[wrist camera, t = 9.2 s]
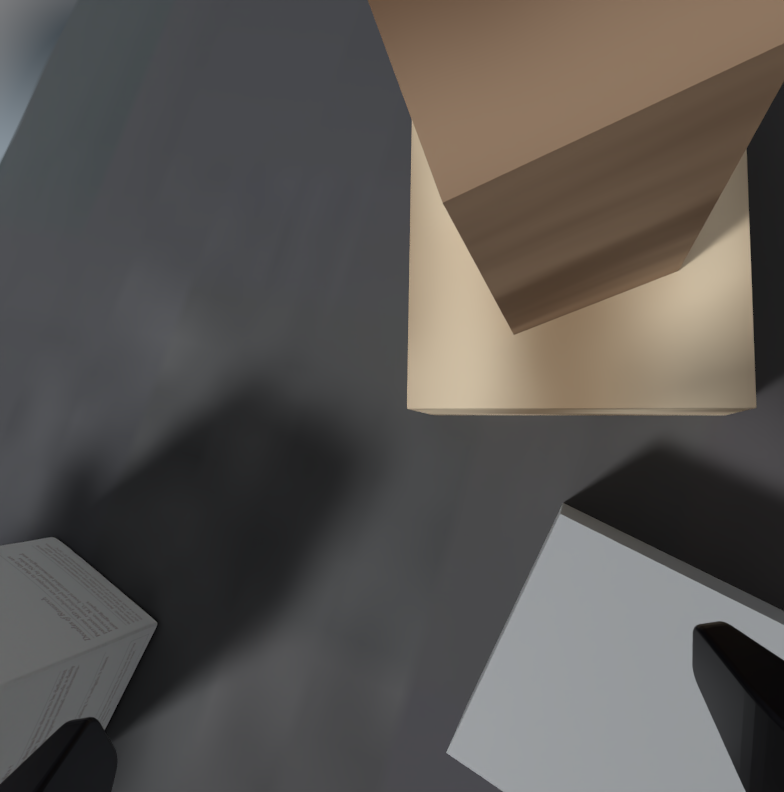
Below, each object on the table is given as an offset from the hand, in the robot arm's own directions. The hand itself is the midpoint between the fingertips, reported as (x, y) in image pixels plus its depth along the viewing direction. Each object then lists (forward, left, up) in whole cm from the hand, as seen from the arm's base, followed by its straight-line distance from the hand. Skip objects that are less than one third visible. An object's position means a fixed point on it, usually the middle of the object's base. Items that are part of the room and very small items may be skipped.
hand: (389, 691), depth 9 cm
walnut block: (-1, -10, -10) cm, 14 cm away
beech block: (-1, -10, -14) cm, 17 cm away
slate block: (-5, +3, -13) cm, 14 cm away
